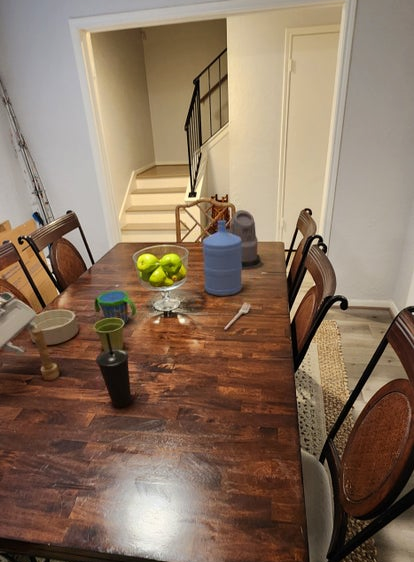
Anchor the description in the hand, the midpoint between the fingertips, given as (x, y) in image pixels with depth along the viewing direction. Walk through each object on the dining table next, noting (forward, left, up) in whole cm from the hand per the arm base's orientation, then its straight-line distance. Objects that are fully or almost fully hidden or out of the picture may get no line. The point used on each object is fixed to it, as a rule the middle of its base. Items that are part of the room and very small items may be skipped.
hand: (32, 344), depth 101 cm
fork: (+62, +24, -11) cm, 68 cm away
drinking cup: (+23, -16, -11) cm, 30 cm away
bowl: (-2, +26, -11) cm, 28 cm away
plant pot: (+19, +12, -11) cm, 25 cm away
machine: (+77, +89, -11) cm, 118 cm away
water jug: (+62, +52, -11) cm, 82 cm away
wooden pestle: (+2, 0, -11) cm, 11 cm away
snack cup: (+19, +31, -11) cm, 38 cm away
